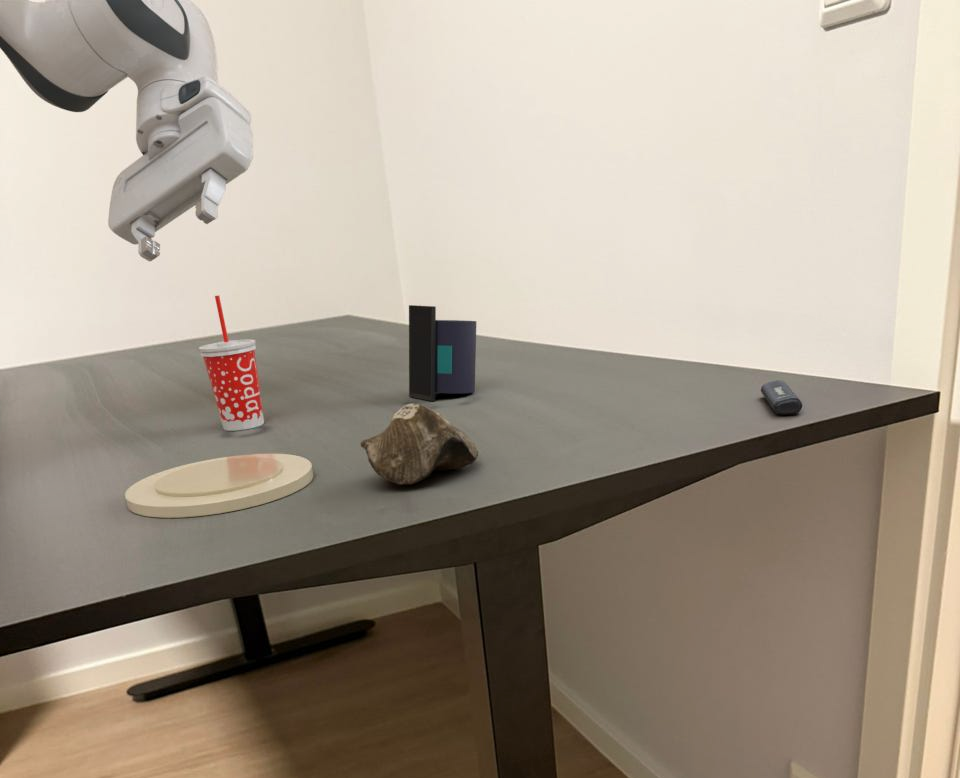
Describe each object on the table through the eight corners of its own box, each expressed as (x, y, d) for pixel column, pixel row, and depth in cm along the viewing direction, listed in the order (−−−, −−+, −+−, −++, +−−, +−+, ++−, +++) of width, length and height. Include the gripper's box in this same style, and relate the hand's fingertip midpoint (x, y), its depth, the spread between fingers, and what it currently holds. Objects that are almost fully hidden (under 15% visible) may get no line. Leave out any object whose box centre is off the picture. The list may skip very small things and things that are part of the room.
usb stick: (759, 396, 95) (760, 380, 94) (787, 394, 94) (787, 378, 94) (773, 417, 86) (773, 400, 86) (803, 415, 86) (804, 398, 85)
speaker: (417, 402, 109) (413, 306, 105) (408, 397, 114) (405, 305, 110) (482, 399, 110) (480, 304, 107) (470, 394, 116) (469, 303, 112)
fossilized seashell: (451, 426, 85) (350, 467, 82) (451, 368, 80) (343, 410, 77) (495, 481, 82) (392, 526, 79) (499, 424, 76) (388, 470, 73)
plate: (98, 525, 77) (93, 510, 76) (163, 472, 91) (159, 459, 91) (293, 508, 76) (290, 492, 75) (327, 457, 90) (325, 443, 90)
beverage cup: (229, 434, 104) (200, 300, 98) (208, 428, 109) (179, 299, 103) (279, 423, 107) (255, 291, 101) (257, 417, 112) (232, 291, 106)
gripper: (95, 161, 110) (92, 263, 106) (217, 67, 99) (217, 177, 95) (142, 191, 115) (140, 290, 111) (262, 105, 104) (264, 212, 101)
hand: (177, 237), depth 103 cm, fingers open, 8 cm apart
